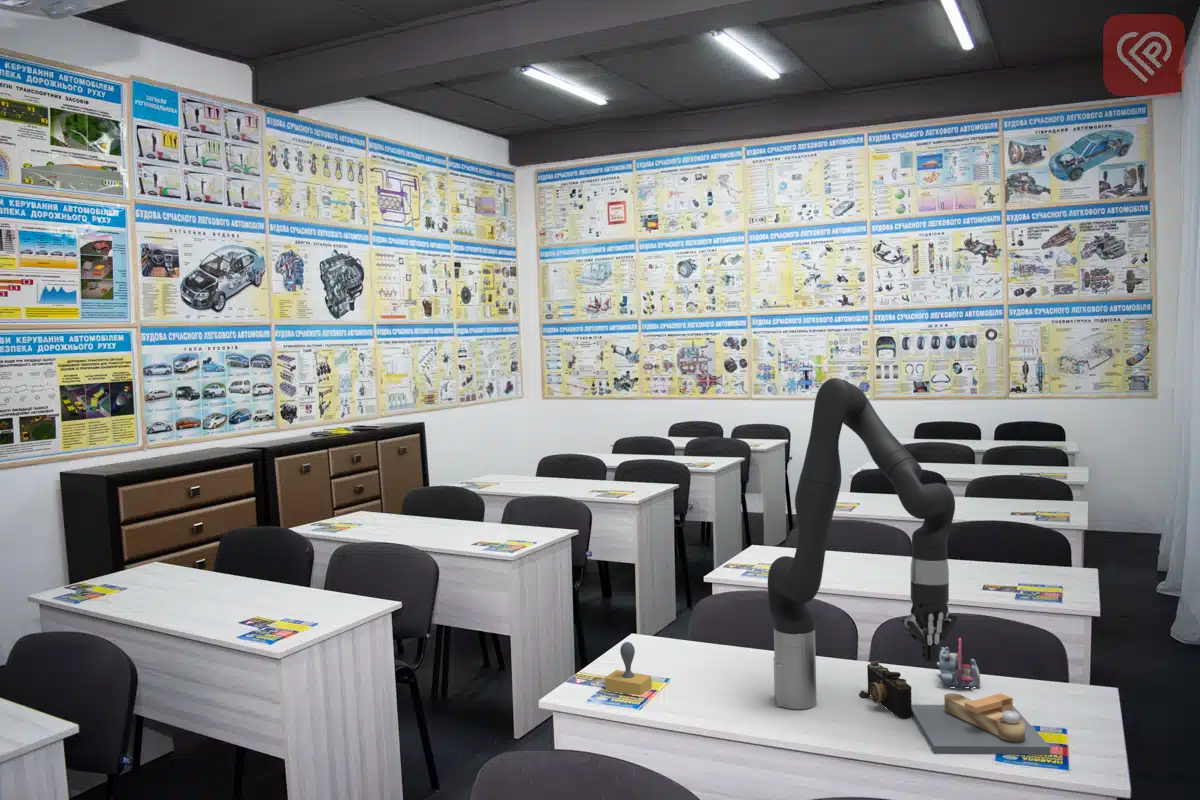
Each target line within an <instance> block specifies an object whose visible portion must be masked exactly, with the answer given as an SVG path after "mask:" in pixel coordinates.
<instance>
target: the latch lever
mask: <svg viewBox="0 0 1200 800" xmlns="http://www.w3.org/2000/svg"><path fill="white" fill-rule="evenodd" d="M943 698H944V699H943V700H944V705H945V711H946V712H948V713H950V714H952V715H954V716H956V717H959V718H961V719H963V720H965V721H967V722H969V723H972V724H974V725H976V726H978V727H980V728H982V729H984V730H987V731H989V732H991V733H993V734H995V735H997V736H998V737H999V738H1001V739H1003V740H1006V741H1011V742H1020V741H1023V740H1024V739H1025V723H1024V721H1022V720H1020V719H1019V722H1018V723H1007V722H1005V721H1003V713H1001V712H999V711H997V710H994V709H991V710H987V711H984V712H980V713H974V712H972V711H970V710H967V709H965V702H969V701H973V700H974V699H971V698H969V697H968V696H967V697H966V696H964V695H962V694H958V693H953V692H952V693H949V692H948V693H945V694H944V696H943Z"/></svg>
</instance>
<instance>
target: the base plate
mask: <svg viewBox="0 0 1200 800" xmlns="http://www.w3.org/2000/svg"><path fill="white" fill-rule="evenodd" d="M912 719H913V721H914V722H915V724H916V725H917V727H918V729H919V730H920V732H921V733H922V735H923V737H924V738H925V740H926V742H927V744H928V745H929V747H930V750H932V752H933V754H940V755H941V754H943V755H944V754H947V755H950V754H953V755H954V754H959V755H961V754H965V755H969V754H970V755H1051V746H1050V745H1049V744H1048V743H1047V741H1046V739H1044V738H1043V737H1042V736H1041V735H1040V734H1039V733H1038V732H1037V730H1035V728H1034V727H1033V726H1032V725H1031V724H1030V723H1029V721H1028V720H1027V719H1026V718H1025V717H1024V716H1023V715H1022V713H1020V712H1019V711H1018V709H1017V708H1016V707H1015V706H1014V705H1013V711H1003V721H1005V722H1007V723H1018V722H1019V719H1020V720H1022V721H1024V723H1025V739H1024V740H1023V741H1020V742H1011V741H1006V740H1003V739H1001V738H999V737H998V736H997V735H995V734H993V733H991V732H989V731H987V730H984V729H982V728H980V727H978V726H976V725H974V724H972V723H969V722H967V721H965V720H963V719H961V718H959V717H956V716H954V715H952V714H950V713H948V712H946V711H945V704H912Z"/></svg>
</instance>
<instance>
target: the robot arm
mask: <svg viewBox="0 0 1200 800" xmlns="http://www.w3.org/2000/svg"><path fill="white" fill-rule="evenodd" d="M815 396H816V397H815V401H814V405H813V413H812V420H811V421H812V422H811V428H810V435H809V440H808V444H807V448H806V452H805V457H804V461H803V465H802V470H801V472H800V475H799V480H798V483H797V488H796V492H795V497H794V509H795V517H796V521H797V529H798V539H797V543H796V544H797V545H796V549H795V553H794V557H793V556H788V555H787V556H786V555H783V556H779V557H778V558H776V559H775V560H774V561H773V562H772V563H771V565H770V566H769V570H768V573H767V591H768V592H767V593H768V594H767V595H768V605H769V606H768V607H769V614H770V616H771V619H772V622H773V645H774V646H773V648H774V650H773V651H774V654H773V655H774V657H773V682H774V683H773V688H774V689H773V690H774V700H775V705H776V707H779V708H785V709H790V710H806V709H810V708H811V709H812V708H813V707H816V705H817V703H818V702H817V701H818V700H817V696H818V695H817V693H818V692H817V665H816V663H817V662H816V660H817V659H816V656H817V655H816V654H817V653H816V624H815V617H814V615H813V614H812V613H811V611H810V610H809V609H808V607H807V605H806V604H807V603H809V602H811V601H812V600H813V599H814V598H815V597H816V596H817V595H818V591H819V590H820V587H821V584H822V579H823V574H824V573H823V571H824V564H825V557H826V552H827V551H826V550H827V544H828V539H829V535H830V531H831V525H832V521H833V516H834V512H835V509H836V506H837V502H838V497H839V495H840V491H841V490H840V489H841V485H842V467H841V458H840V449H839V444H840V435H841V433H842V432H841V431H842V427H843V425H845V426H846V427H847V428H849V429H850V430H851V431H852V432H853V433H855V434H856V435H857V437H858V438H860V440H862V442H863V443H864V445H865V447H866V449H867V451H868V453H869V455H870V457H871V458H872V461H873V462H874V463H875V465H876V466H877V468H878V469H879V471H881V472H882V474H883V475H884V476H885V477H886V478H887V479H888V481H890V483H891V484H892V486H893V488H894V490H895V492H896V495H897V497H898V499H899V502H900V504H901V505H902V507H903V508H904V510H905V511H906V512H907V513H908V514H909V515H910V516H911V517H913V518H916V519H919V520H923V524H922V525H921V526H920V527H919V528H917V529H915V530H914V531H913V533H912V535H911V562H910V600H911V602H912V606H911V608H910V614H909V616H907V618H905V617H904V618H902V619H901V623H902V625H903V627H904V628H905V630H907V632H908V634H909V635H910V636H911V638H912V639H913V640H914V641H917V642H919V643H921V657H922V659H923V660H924V661H925V662H927V663H935V662H937V659H938V645H939V643H940V642H941V641H945V640H946V639H947V637H948V635H949V633H951V630H952V629H953V627H954V626H955V624H956V622H957V620H958V615H956V614H953V613H952V612H950V611H949V606H948V603H949V601H950V598H949V597H950V595H949V593H950V592H949V591H950V589H949V588H950V587H949V586H950V584H949V581H950V580H949V577H950V573H949V570H950V569H949V561H948V539H949V534H950V531H951V527H952V523H953V520H954V516H955V512H956V499H955V496H954V493H953V491H952V489H951V488H950V487H949V486H948V485H946V484H944V483H942V482H941V483H940V482H934V483H927V484H923V483H922V482H921V481H920V479H921V478H922V475H923V468H922V466H921V464H920V463H919V462H918V461H917V460H916V458H915V457H914V456H912V454H911V453H910V452H909V451H908V450H907V448H905V446H904V445H903V444H902V443H901V442H900V441H899V439H897V438H896V437H895V435H893V433H892V432H891V431H890V430H889V428H888V426H886V425H885V423H884V422H883V421H882V420H881V418H880V416H879V415H878V414H877V412H876V410H875V409H874V407H873V405H872V404H871V402H870V400H869V399H868V398H867V396H866V394H865V392H864V391H863V390H862V389H861V388H859V386H856V385H854V384H853V383H850V382H848V381H846V380H844V379H842V378H838V377H833V378H829V379H827V380H825V382H823V383H822V384H821V385H820V387H819V389H818V391H817V393H816V395H815Z"/></svg>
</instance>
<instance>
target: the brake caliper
mask: <svg viewBox="0 0 1200 800" xmlns="http://www.w3.org/2000/svg"><path fill="white" fill-rule="evenodd" d="M957 641H958V642H957V643H958V644H957V647H958V648H957V649H958V651H957V652H950V648H949V647H948V646H946V647H940V652H939V654H938V655H939V661H936V666H937V667H938V668H939V671H940V673H938V674H937V677H938V678H939V679H941V680H942V681H943V683H945V684H946V685H947V686H948V688H950V687H955V688H961V687H964V688H963V689H966V688H965V687H969V688H973V687H977V688H978V687H979V685H980V683H981V673H980V670H979V667H978V665H977V662H976V660H975V659H974V658H971V659H969V664H964V663H963V661H964V659H963V656H962V648H963V647H962V643H963V642H962V638H961V637H959V638H958V639H957ZM961 689H962V688H961Z"/></svg>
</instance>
